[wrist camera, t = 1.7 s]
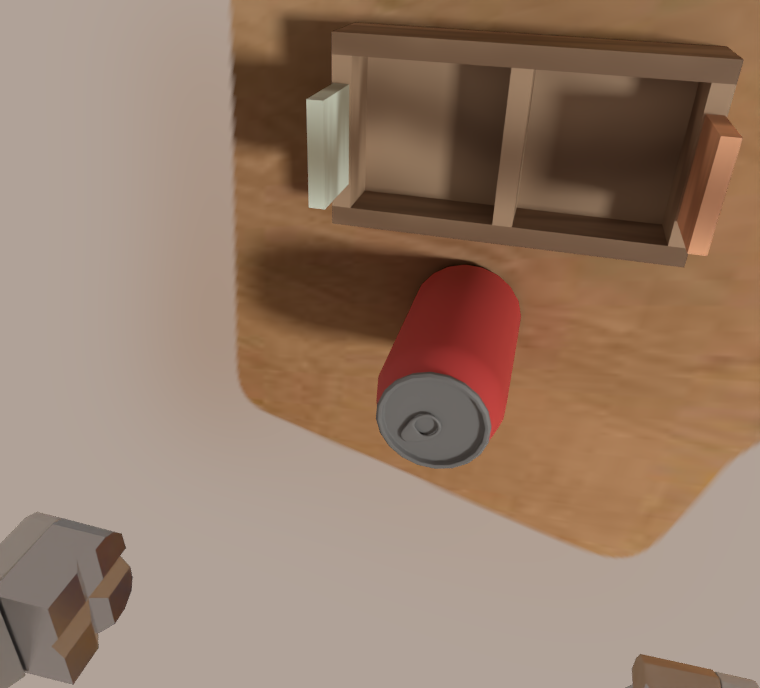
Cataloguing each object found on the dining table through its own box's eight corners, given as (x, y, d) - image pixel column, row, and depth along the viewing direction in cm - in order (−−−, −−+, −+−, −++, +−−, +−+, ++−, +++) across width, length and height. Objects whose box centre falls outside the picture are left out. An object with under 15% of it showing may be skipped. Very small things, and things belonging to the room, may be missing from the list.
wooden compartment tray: (354, 22, 36) (302, 42, 29) (727, 46, 32) (764, 76, 26) (352, 199, 41) (308, 251, 34) (675, 237, 37) (695, 303, 31)
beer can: (394, 296, 43) (338, 404, 33) (478, 240, 40) (443, 341, 30) (458, 371, 45) (422, 496, 35) (543, 323, 42) (530, 445, 32)
